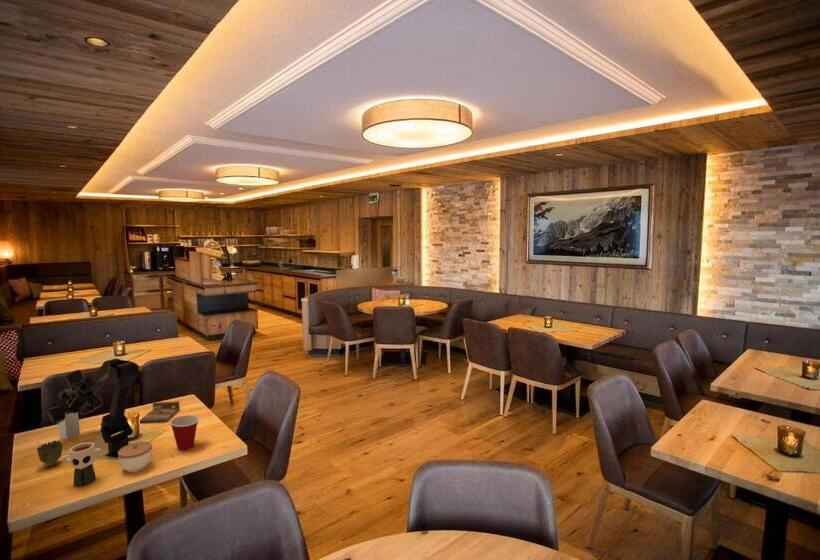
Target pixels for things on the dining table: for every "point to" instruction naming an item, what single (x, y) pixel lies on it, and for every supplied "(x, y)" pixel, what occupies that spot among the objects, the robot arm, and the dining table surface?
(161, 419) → the brown flat stand
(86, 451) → the character mug
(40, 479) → the dining table surface
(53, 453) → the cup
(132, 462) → the lidded jar
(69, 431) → the grey rectangular block
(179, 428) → the plastic cup
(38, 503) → the dining table surface
